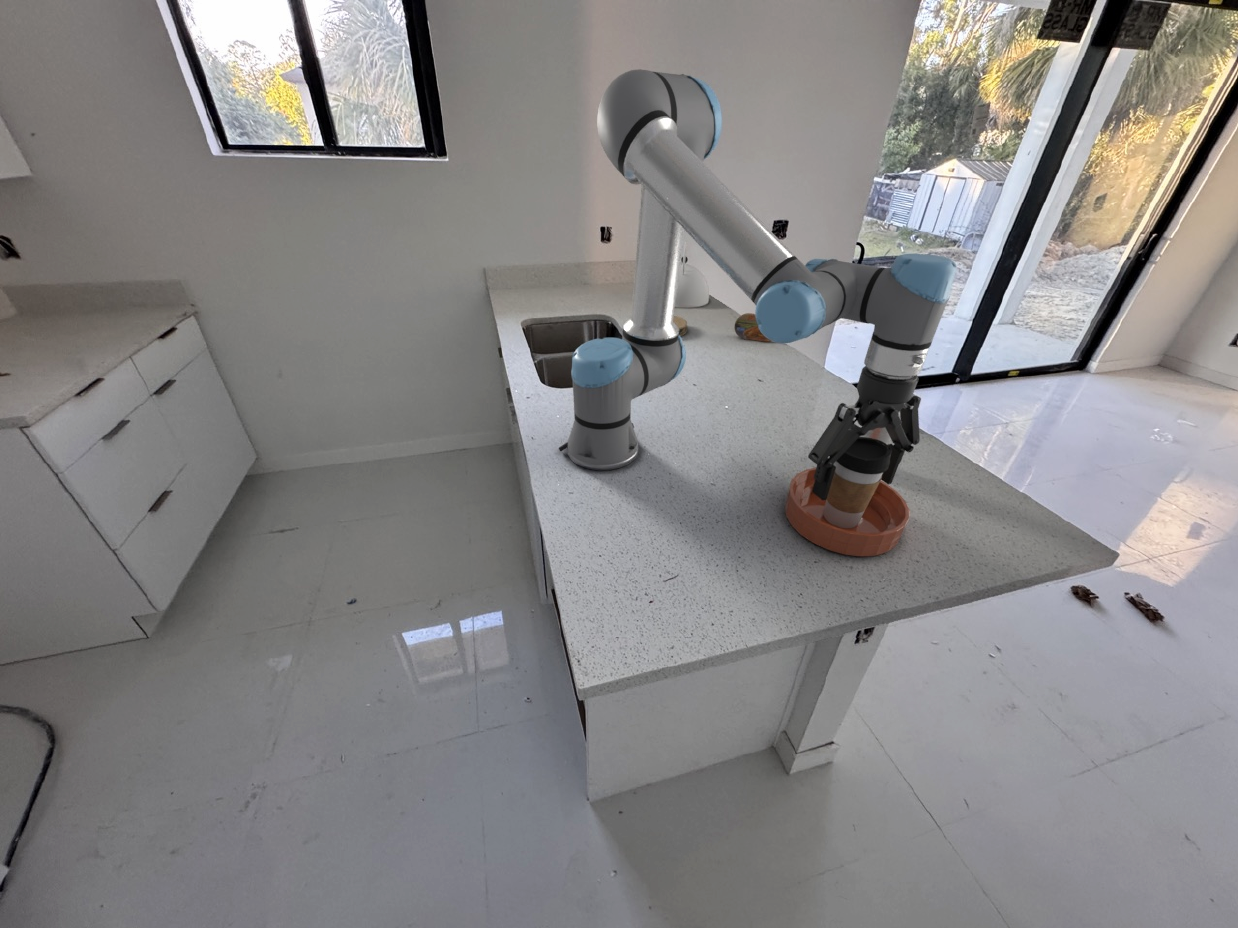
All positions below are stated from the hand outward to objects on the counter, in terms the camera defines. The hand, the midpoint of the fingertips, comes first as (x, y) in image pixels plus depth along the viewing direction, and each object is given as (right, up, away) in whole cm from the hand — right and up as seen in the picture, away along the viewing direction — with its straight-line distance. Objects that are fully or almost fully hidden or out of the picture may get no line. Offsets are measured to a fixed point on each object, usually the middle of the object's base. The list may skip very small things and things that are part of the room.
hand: (852, 487), depth 83 cm
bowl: (0, -6, +4) cm, 7 cm away
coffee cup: (0, -6, +4) cm, 7 cm away
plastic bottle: (+12, +4, +19) cm, 22 cm away
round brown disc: (-24, +51, +89) cm, 106 cm away
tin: (+7, +46, +82) cm, 95 cm away
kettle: (-13, +74, +123) cm, 144 cm away
